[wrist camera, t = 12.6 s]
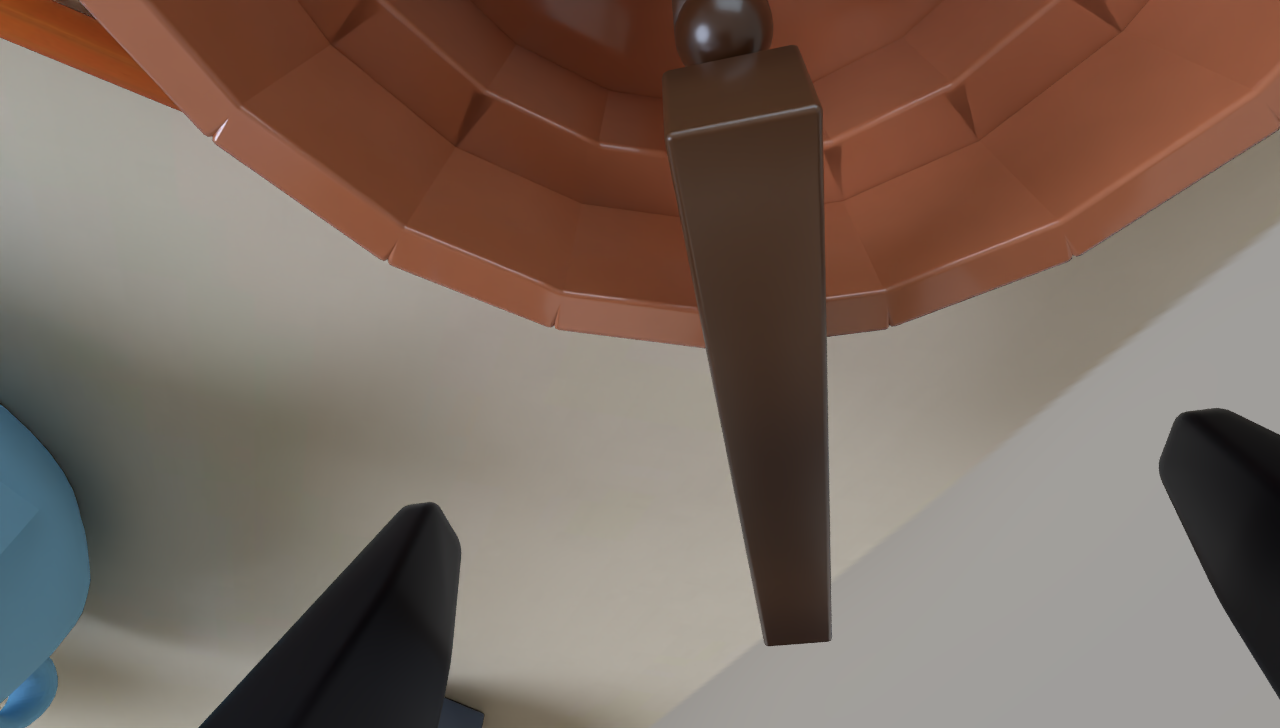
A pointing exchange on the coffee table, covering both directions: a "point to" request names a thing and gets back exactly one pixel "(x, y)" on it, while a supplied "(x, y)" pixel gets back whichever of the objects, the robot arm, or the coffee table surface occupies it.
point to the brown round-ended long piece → (759, 289)
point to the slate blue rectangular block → (459, 716)
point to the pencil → (75, 44)
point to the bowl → (636, 152)
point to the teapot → (35, 571)
